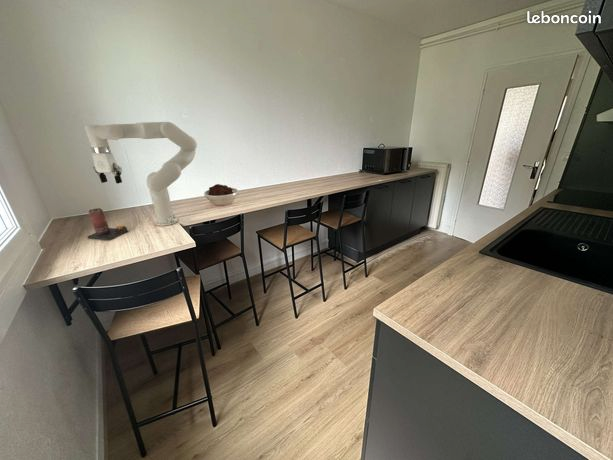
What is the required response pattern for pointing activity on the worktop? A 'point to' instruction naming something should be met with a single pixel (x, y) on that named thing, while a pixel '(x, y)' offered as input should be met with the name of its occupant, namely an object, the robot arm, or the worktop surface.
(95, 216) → the can
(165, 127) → the robot arm
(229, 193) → the filled cream bowl
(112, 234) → the scale
